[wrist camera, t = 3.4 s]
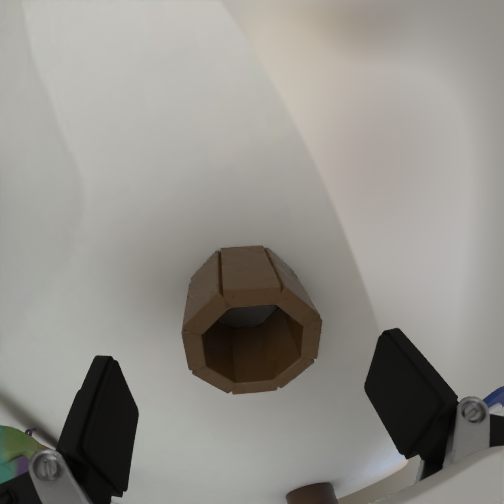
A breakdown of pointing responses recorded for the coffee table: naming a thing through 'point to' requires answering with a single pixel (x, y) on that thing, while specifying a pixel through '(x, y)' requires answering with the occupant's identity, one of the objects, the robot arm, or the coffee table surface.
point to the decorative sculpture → (16, 451)
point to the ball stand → (313, 495)
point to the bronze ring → (255, 337)
